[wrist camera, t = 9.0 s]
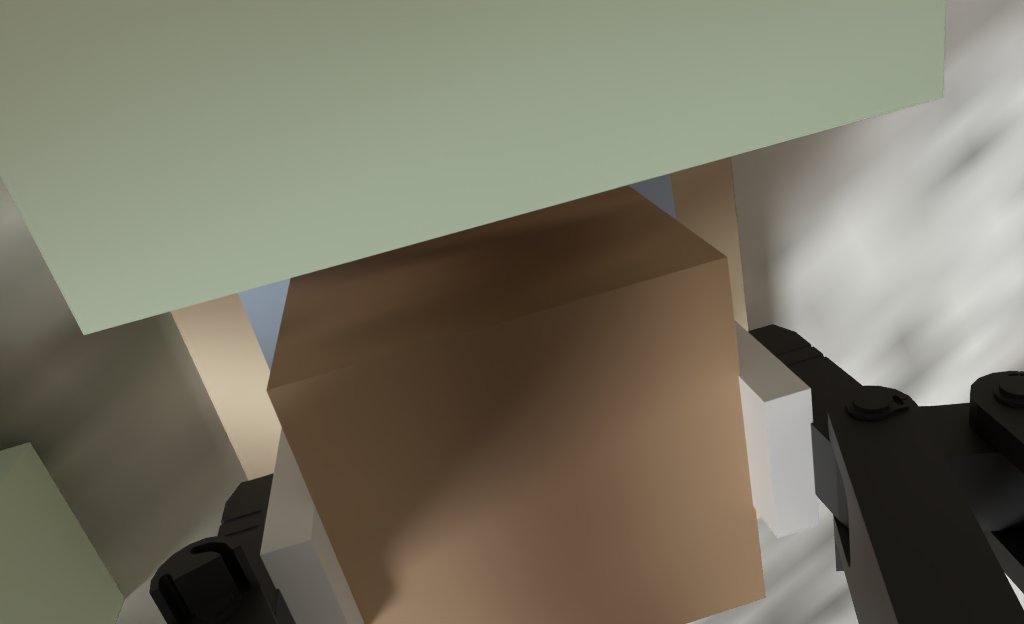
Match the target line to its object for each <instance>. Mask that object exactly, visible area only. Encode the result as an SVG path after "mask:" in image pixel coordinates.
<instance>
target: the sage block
mask: <svg viewBox="0 0 1024 624" xmlns="http://www.w3.org/2000/svg"><path fill="white" fill-rule="evenodd" d="M124 600H125V598H124V597H123V595H122V593H121V592H120V590H119V588H118V587H117V585H116V583H115V582H114V580H113V578H112V577H111V575H110V573H109V572H108V570H107V569H106V567H105V565H104V564H103V562H102V560H101V559H100V557H99V555H98V554H97V552H96V550H95V549H94V547H93V545H92V544H91V542H90V540H89V539H88V537H87V535H86V534H85V532H84V530H83V529H82V527H81V525H80V524H79V522H78V521H77V519H76V517H75V516H74V514H73V512H72V511H71V509H70V507H69V506H68V504H67V502H66V501H65V499H64V497H63V496H62V494H61V492H60V491H59V489H58V487H57V486H56V484H55V482H54V481H53V479H52V477H51V476H50V474H49V473H48V471H47V469H46V468H45V466H44V464H43V463H42V461H41V459H40V458H39V456H38V454H37V453H36V451H35V449H34V448H33V446H32V444H31V443H30V442H29V443H25V444H22V445H18V446H15V447H11V448H8V449H4V450H1V451H0V624H116V621H117V618H118V616H119V613H120V610H121V608H122V605H123V602H124Z"/></svg>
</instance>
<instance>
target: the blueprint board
mask: <svg viewBox="0 0 1024 624" xmlns="http://www.w3.org/2000/svg"><path fill="white" fill-rule="evenodd" d="M629 186H630V187H632V188H633V189H634V190H636V191H637V192H638V193H640V194H641V195H643V196H644V197H645V198H647V199H648V200H649V201H651V202H652V203H654V204H655V205H656V206H658V207H659V208H660V209H662V210H663V211H665V212H666V213H667V214H669V215H670V216H672V217H673V218H674V219H676V220H677V221H678V222H680V223H681V224H683V225H684V226H685V227H687V228H688V229H689V230H691V231H692V232H694V233H695V234H696V235H698V236H699V237H700V238H702V239H703V240H705V241H706V242H707V243H709V244H710V245H712V246H713V247H714V248H716V249H717V250H718V251H720V252H721V253H723V254H724V255H725V256H727V258H728V267H729V276H730V285H731V294H732V303H733V312H734V320H735V321H736V322H737V323H738V324H740V325H741V326H742V327H743V328H744V329H745V330H746V331H747V332H748V323H747V313H746V303H745V293H744V283H743V273H742V264H741V254H740V244H739V234H738V224H737V214H736V205H735V195H734V185H733V175H732V165H731V157H727V158H723V159H720V160H716V161H713V162H709V163H705V164H702V165H698V166H694V167H691V168H687V169H684V170H680V171H676V172H673V173H669V174H665V175H662V176H658V177H655V178H651V179H647V180H644V181H640V182H637V183H633V184H629ZM289 283H290V278H289V279H285V280H282V281H278V282H275V283H271V284H267V285H264V286H260V287H257V288H253V289H249V290H246V291H242V292H238V293H235V294H231V295H228V296H224V297H220V298H217V299H213V300H210V301H206V302H202V303H199V304H195V305H191V306H188V307H184V308H181V309H177V310H173V311H170V312H171V314H172V316H173V318H174V320H175V323H176V325H177V327H178V329H179V331H180V333H181V336H182V338H183V340H184V342H185V344H186V346H187V349H188V351H189V353H190V355H191V357H192V359H193V362H194V364H195V366H196V368H197V370H198V372H199V375H200V377H201V379H202V381H203V383H204V385H205V388H206V390H207V392H208V394H209V396H210V398H211V401H212V403H213V405H214V407H215V409H216V411H217V414H218V416H219V418H220V420H221V422H222V424H223V427H224V429H225V431H226V433H227V435H228V437H229V440H230V442H231V444H232V446H233V448H234V450H235V453H236V455H237V457H238V459H239V461H240V463H241V466H242V468H243V470H244V472H245V474H246V476H247V479H248V481H249V480H252V479H256V478H259V477H263V476H266V475H269V474H273V473H274V469H275V463H276V457H277V452H278V446H279V440H280V434H281V428H282V427H281V424H280V422H279V420H278V417H277V415H276V412H275V410H274V408H273V405H272V403H271V401H270V398H269V396H268V393H267V391H266V389H267V385H268V380H269V375H270V371H271V366H272V362H273V357H274V352H275V348H276V343H277V338H278V334H279V329H280V324H281V320H282V315H283V310H284V306H285V301H286V296H287V292H288V287H289ZM756 516H757V519H759V518H762V517H761V516H760V514H759V513H758V512H757V510H756Z"/></svg>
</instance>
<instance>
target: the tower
mask: <svg viewBox="0 0 1024 624" xmlns="http://www.w3.org/2000/svg"><path fill="white" fill-rule="evenodd" d="M944 45H945V0H0V176H1V178H2V180H3V182H4V184H5V186H6V187H7V189H8V191H9V193H10V195H11V197H12V199H13V201H14V203H15V205H16V207H17V209H18V210H19V212H20V214H21V216H22V218H23V220H24V222H25V224H26V226H27V228H28V230H29V231H30V233H31V235H32V237H33V239H34V241H35V243H36V245H37V247H38V249H39V251H40V252H41V254H42V256H43V258H44V260H45V262H46V264H47V266H48V268H49V270H50V272H51V273H52V275H53V277H54V279H55V281H56V283H57V285H58V287H59V289H60V291H61V293H62V295H63V296H64V298H65V300H66V302H67V304H68V306H69V308H70V310H71V312H72V314H73V316H74V317H75V319H76V321H77V323H78V325H79V327H80V329H81V331H82V333H83V335H86V334H90V333H94V332H97V331H101V330H105V329H108V328H112V327H115V326H119V325H123V324H126V323H130V322H134V321H137V320H141V319H144V318H148V317H152V316H155V315H159V314H162V313H166V312H170V311H173V310H177V309H181V308H184V307H188V306H191V305H195V304H199V303H202V302H206V301H210V300H213V299H217V298H220V297H224V296H228V295H231V294H235V293H238V292H242V291H246V290H249V289H253V288H257V287H260V286H264V285H267V284H271V283H275V282H278V281H282V280H285V279H289V278H293V277H296V276H300V275H304V274H307V273H311V272H314V271H318V270H322V269H325V268H329V267H333V266H336V265H340V264H343V263H347V262H351V261H354V260H358V259H361V258H365V257H369V256H372V255H376V254H380V253H383V252H387V251H390V250H394V249H398V248H401V247H405V246H409V245H412V244H416V243H419V242H423V241H427V240H430V239H434V238H437V237H441V236H445V235H448V234H452V233H456V232H459V231H463V230H466V229H470V228H474V227H477V226H481V225H485V224H488V223H492V222H495V221H499V220H503V219H506V218H510V217H513V216H517V215H521V214H524V213H528V212H532V211H535V210H539V209H542V208H546V207H550V206H553V205H557V204H561V203H564V202H568V201H571V200H575V199H579V198H582V197H586V196H589V195H593V194H597V193H600V192H604V191H608V190H611V189H615V188H618V187H622V186H626V185H629V184H633V183H637V182H640V181H644V180H647V179H651V178H655V177H658V176H662V175H665V174H669V173H673V172H676V171H680V170H684V169H687V168H691V167H694V166H698V165H702V164H705V163H709V162H713V161H716V160H720V159H723V158H727V157H731V156H734V155H738V154H741V153H745V152H749V151H752V150H756V149H760V148H763V147H767V146H770V145H774V144H778V143H781V142H785V141H789V140H792V139H796V138H799V137H803V136H807V135H810V134H814V133H817V132H821V131H825V130H828V129H832V128H836V127H839V126H843V125H846V124H850V123H854V122H857V121H861V120H864V119H868V118H872V117H875V116H879V115H883V114H886V113H890V112H893V111H897V110H901V109H904V108H908V107H912V106H915V105H919V104H922V103H926V102H930V101H933V100H937V99H940V98H944Z"/></svg>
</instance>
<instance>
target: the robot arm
mask: <svg viewBox="0 0 1024 624" xmlns="http://www.w3.org/2000/svg"><path fill="white" fill-rule="evenodd" d="M734 321H735V320H734ZM735 329H736V338H737V347H738V356H739V365H740V374H741V375H739V385H740V394H741V402H742V411H743V420H744V429H745V438H746V447H747V455H748V464H749V473H750V482H751V491H752V499H753V506H754V508H755V509H756V510H757V512H758V513H759V514H760V516H761V517H762V518H763V520H764V521H765V522H766V524H767V525H768V526H769V528H770V529H771V530H772V532H773V533H774V534H775V536H776V537H777V538H780V537H784V536H787V535H790V534H793V533H796V532H799V531H803V530H806V529H809V528H812V527H815V526H818V525H820V519H819V504H818V498H819V499H820V500H821V501H822V502H823V503H824V504H825V506H826V507H827V508H828V509H829V510H830V511H831V512H832V513H833V518H834V536H835V554H836V571H844V572H845V576H846V579H847V583H848V586H849V590H850V594H851V597H852V601H853V604H854V608H855V612H856V615H857V619H858V622H859V624H1024V610H1023V608H1022V606H1021V604H1020V602H1019V600H1018V598H1017V596H1016V594H1015V592H1014V590H1013V589H1012V587H1011V585H1010V583H1009V581H1008V579H1007V577H1006V575H1007V576H1008V577H1009V578H1010V579H1011V580H1012V581H1013V582H1014V583H1015V585H1016V586H1017V587H1018V588H1019V589H1020V590H1021V591H1022V592H1023V594H1024V372H1023V371H1020V372H1018V371H1006V372H997V373H991V374H989V375H986V376H983V377H980V378H978V379H977V380H976V381H975V382H974V383H973V384H972V385H971V391H970V403H962V404H951V405H939V406H918V405H917V404H916V403H915V402H914V401H913V400H912V399H911V397H910V396H908V395H906V394H904V393H902V392H900V391H898V390H896V389H892V388H887V387H882V386H862V385H861V384H860V383H859V382H857V381H856V380H855V379H854V378H852V377H851V376H850V375H849V374H847V373H846V372H845V371H844V370H842V369H841V368H840V367H839V366H837V365H836V364H835V363H834V362H832V361H831V360H830V359H829V358H827V357H824V356H823V354H822V353H821V352H820V351H819V350H817V349H816V348H815V347H811V344H810V343H809V342H807V341H806V340H805V339H804V338H802V337H801V336H800V335H799V334H797V333H796V332H794V331H791V330H788V329H785V328H782V327H779V326H776V325H773V324H772V325H768V326H765V327H762V328H758V329H755V330H751V331H748V332H747V331H746V330H745V329H744V328H743V327H742V326H741V325H740V324H738V323H737V322H736V321H735ZM221 523H222V525H221V526H220V528H219V532H218V536H216V537H209V538H205V539H202V540H200V541H197V542H195V543H192V544H189V545H188V546H186V547H184V548H183V549H181V550H180V551H178V552H177V553H175V554H173V555H172V556H171V557H170V558H169V559H168V560H167V561H166V562H165V563H164V564H163V565H161V566H160V567H159V569H158V570H157V572H156V574H155V575H154V577H153V578H152V580H151V585H150V595H151V596H152V598H153V600H154V602H155V603H156V605H157V607H158V609H159V610H160V612H161V614H162V615H163V617H164V619H165V621H166V622H167V624H364V621H363V619H362V617H361V614H360V612H359V609H358V607H357V605H356V602H355V600H354V598H353V595H352V593H351V590H350V588H349V586H348V583H347V581H346V578H345V576H344V574H343V571H342V569H341V567H340V564H339V562H338V559H337V557H336V555H335V552H334V550H333V548H332V545H331V543H330V540H329V538H328V536H327V533H326V531H325V529H324V526H323V524H322V521H321V519H320V517H319V514H318V512H317V509H316V507H315V505H314V503H313V500H312V498H311V496H310V493H309V491H308V488H307V486H306V484H305V481H304V479H303V477H302V474H301V472H300V469H299V467H298V465H297V462H296V460H295V458H294V455H293V453H292V450H291V448H290V446H289V443H288V441H287V439H286V436H285V434H284V431H283V429H282V428H281V434H280V440H279V446H278V452H277V457H276V463H275V469H274V473H273V474H269V475H266V476H263V477H259V478H256V479H252V480H249V481H246V482H242V483H241V484H240V485H239V486H238V487H237V489H236V490H235V491H234V493H233V494H232V495H231V497H230V498H229V499H228V501H227V502H226V504H225V508H224V512H223V516H222V520H221ZM1004 572H1005V573H1006V575H1005V573H1004Z"/></svg>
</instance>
